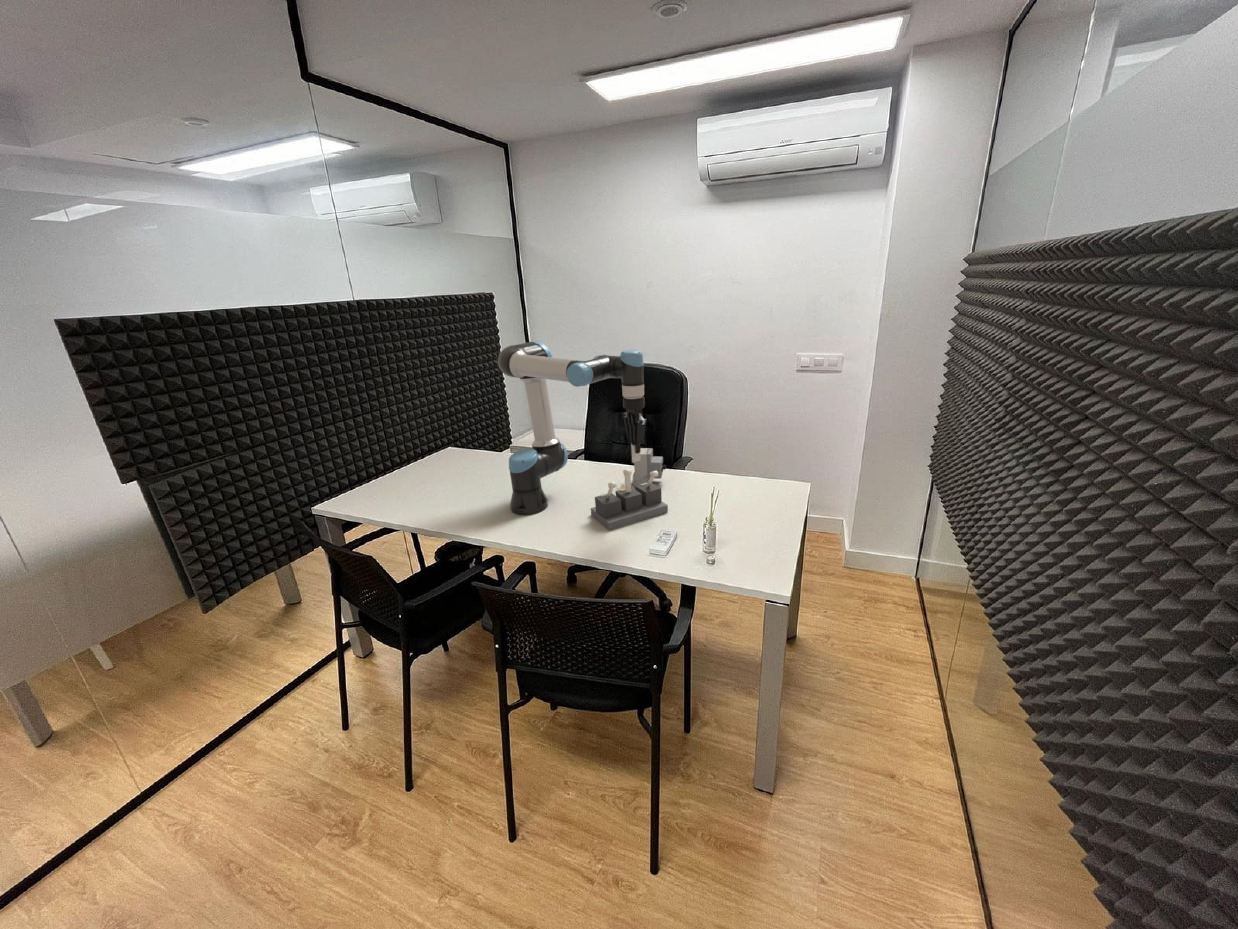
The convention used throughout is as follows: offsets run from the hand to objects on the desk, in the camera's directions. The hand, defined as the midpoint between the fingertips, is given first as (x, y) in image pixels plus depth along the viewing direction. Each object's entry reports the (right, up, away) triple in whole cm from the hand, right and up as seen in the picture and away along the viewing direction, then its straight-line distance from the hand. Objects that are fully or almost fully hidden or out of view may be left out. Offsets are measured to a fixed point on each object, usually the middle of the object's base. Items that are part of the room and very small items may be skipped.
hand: (636, 460), depth 174 cm
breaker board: (-2, -21, +15) cm, 25 cm away
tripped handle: (-3, -12, +11) cm, 16 cm away
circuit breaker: (+8, -10, +42) cm, 44 cm away
